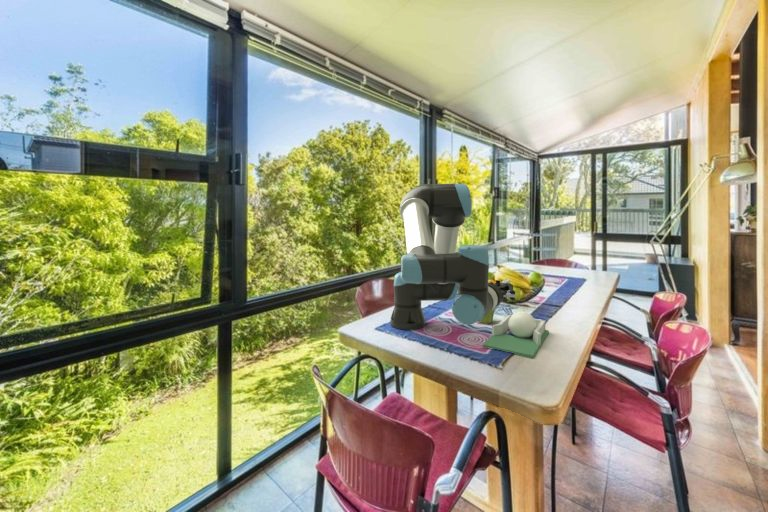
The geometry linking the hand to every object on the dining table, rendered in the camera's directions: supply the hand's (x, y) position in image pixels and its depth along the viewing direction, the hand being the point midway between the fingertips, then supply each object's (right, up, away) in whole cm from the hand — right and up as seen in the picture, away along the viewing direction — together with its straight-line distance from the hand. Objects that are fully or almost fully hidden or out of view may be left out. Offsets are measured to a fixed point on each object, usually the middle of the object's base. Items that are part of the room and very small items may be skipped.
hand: (507, 283), depth 115 cm
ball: (+11, -17, +16) cm, 26 cm away
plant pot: (+3, -20, +35) cm, 40 cm away
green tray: (+9, -23, +15) cm, 28 cm away
